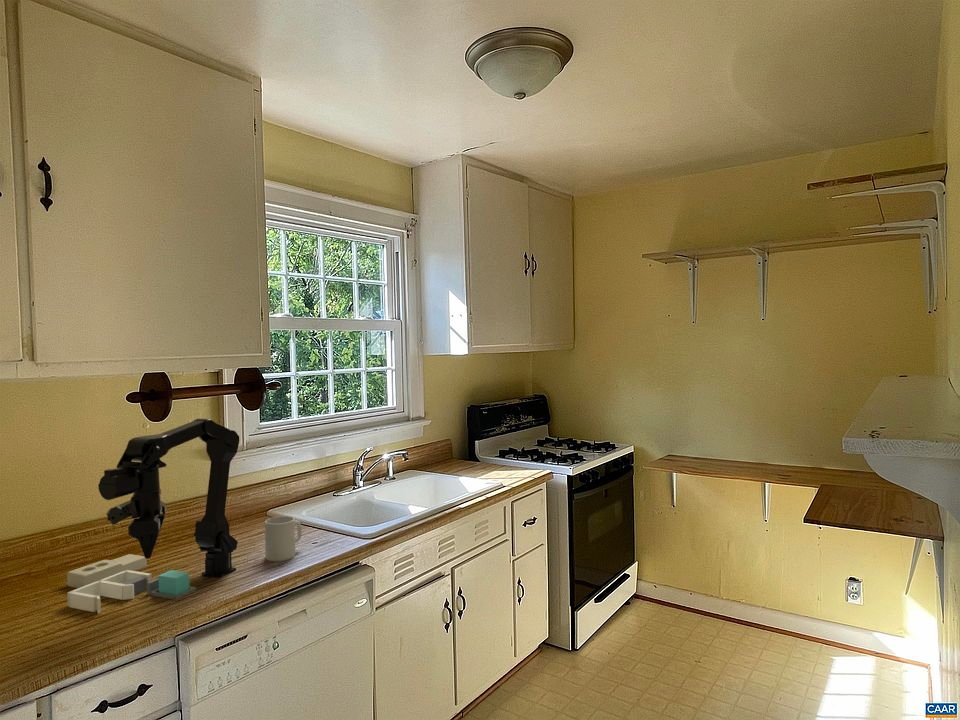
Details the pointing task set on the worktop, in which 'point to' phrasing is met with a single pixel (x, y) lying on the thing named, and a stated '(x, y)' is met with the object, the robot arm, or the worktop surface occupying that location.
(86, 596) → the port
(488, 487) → the worktop surface
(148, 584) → the grey rectangular frame stand
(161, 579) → the plug
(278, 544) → the mug
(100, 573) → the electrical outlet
